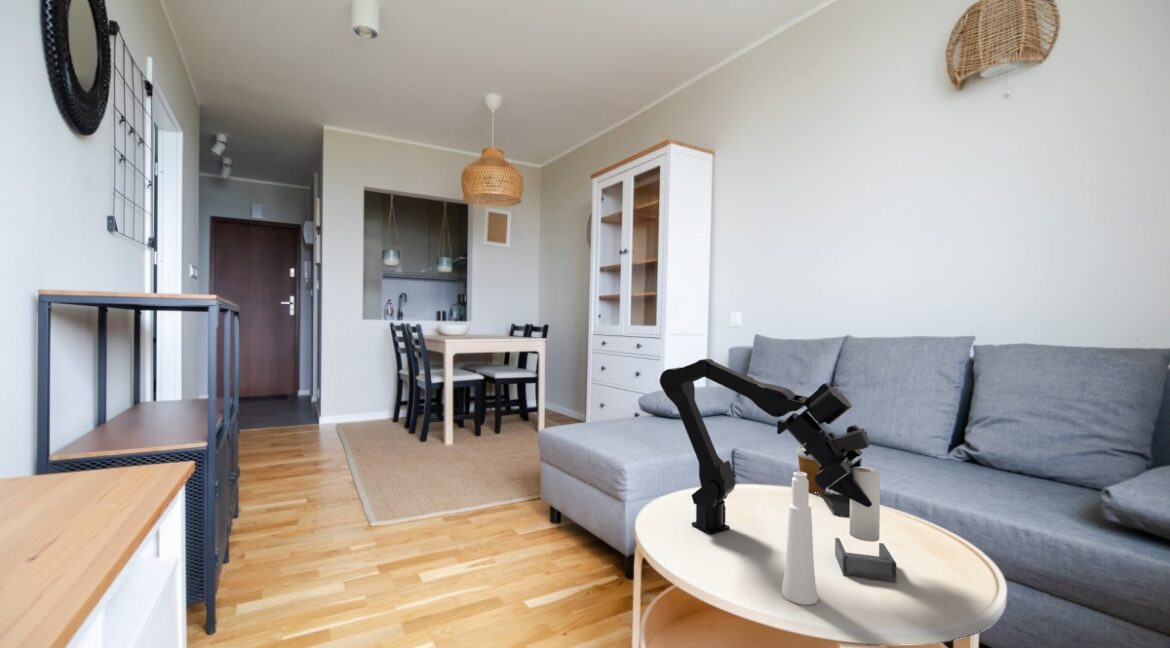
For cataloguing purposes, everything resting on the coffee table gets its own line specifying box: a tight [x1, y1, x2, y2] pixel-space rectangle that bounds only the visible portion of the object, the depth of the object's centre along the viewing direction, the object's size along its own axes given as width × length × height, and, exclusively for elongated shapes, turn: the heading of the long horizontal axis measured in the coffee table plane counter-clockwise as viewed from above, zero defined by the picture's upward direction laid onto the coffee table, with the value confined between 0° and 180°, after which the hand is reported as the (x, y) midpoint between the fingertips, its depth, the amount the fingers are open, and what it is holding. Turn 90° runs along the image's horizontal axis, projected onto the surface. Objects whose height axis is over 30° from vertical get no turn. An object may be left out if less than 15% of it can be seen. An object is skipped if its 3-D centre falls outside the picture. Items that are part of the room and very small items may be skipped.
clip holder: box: [834, 537, 897, 583], centre depth 101 cm, size 9×9×4 cm
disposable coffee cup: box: [795, 445, 827, 494], centre depth 147 cm, size 10×10×12 cm
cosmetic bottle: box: [781, 471, 819, 606], centre depth 90 cm, size 6×6×22 cm
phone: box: [821, 493, 850, 518], centre depth 134 cm, size 8×1×15 cm
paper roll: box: [849, 466, 881, 543], centre depth 101 cm, size 5×5×13 cm
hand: (872, 501), depth 100 cm, fingers closed on paper roll, 5 cm apart
